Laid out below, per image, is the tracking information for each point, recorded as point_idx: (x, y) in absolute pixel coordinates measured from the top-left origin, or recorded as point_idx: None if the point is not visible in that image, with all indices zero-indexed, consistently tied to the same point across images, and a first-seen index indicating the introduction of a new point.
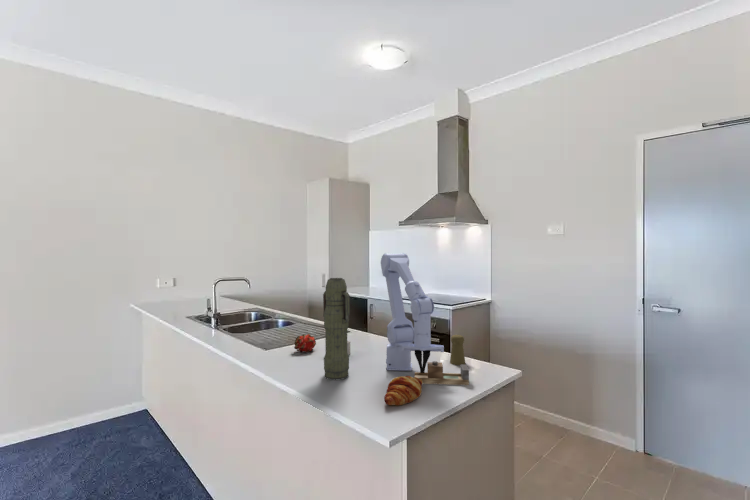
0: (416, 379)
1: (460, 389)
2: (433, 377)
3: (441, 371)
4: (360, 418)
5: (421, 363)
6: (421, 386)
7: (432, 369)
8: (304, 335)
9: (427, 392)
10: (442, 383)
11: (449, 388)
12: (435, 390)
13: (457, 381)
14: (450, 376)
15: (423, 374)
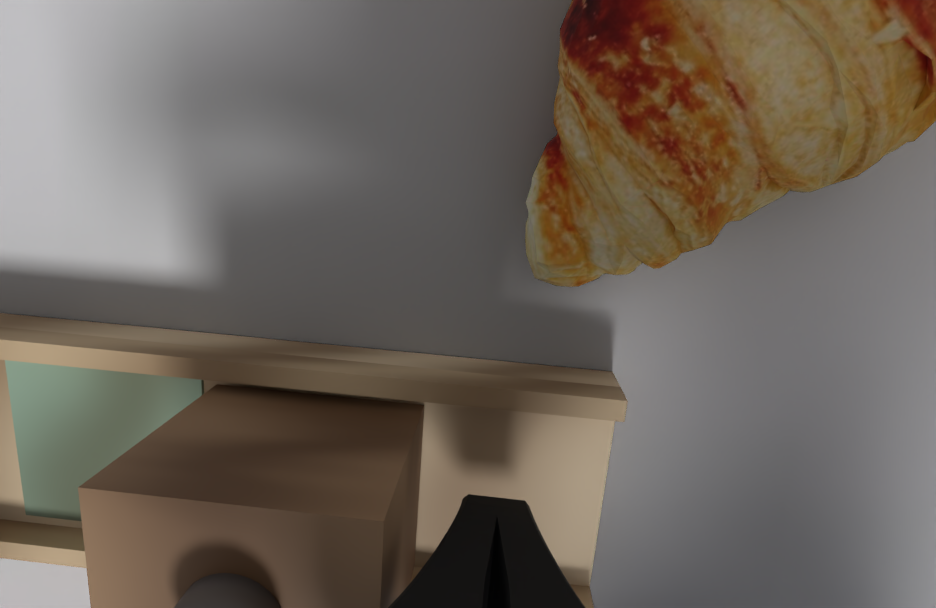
0: (680, 40)
1: (30, 164)
2: (338, 408)
3: (167, 441)
4: None
5: (518, 598)
6: (571, 6)
7: (311, 474)
8: None
9: (474, 38)
10: (244, 339)
11: (167, 196)
12: (355, 119)
13: (29, 332)
14: None
15: None
